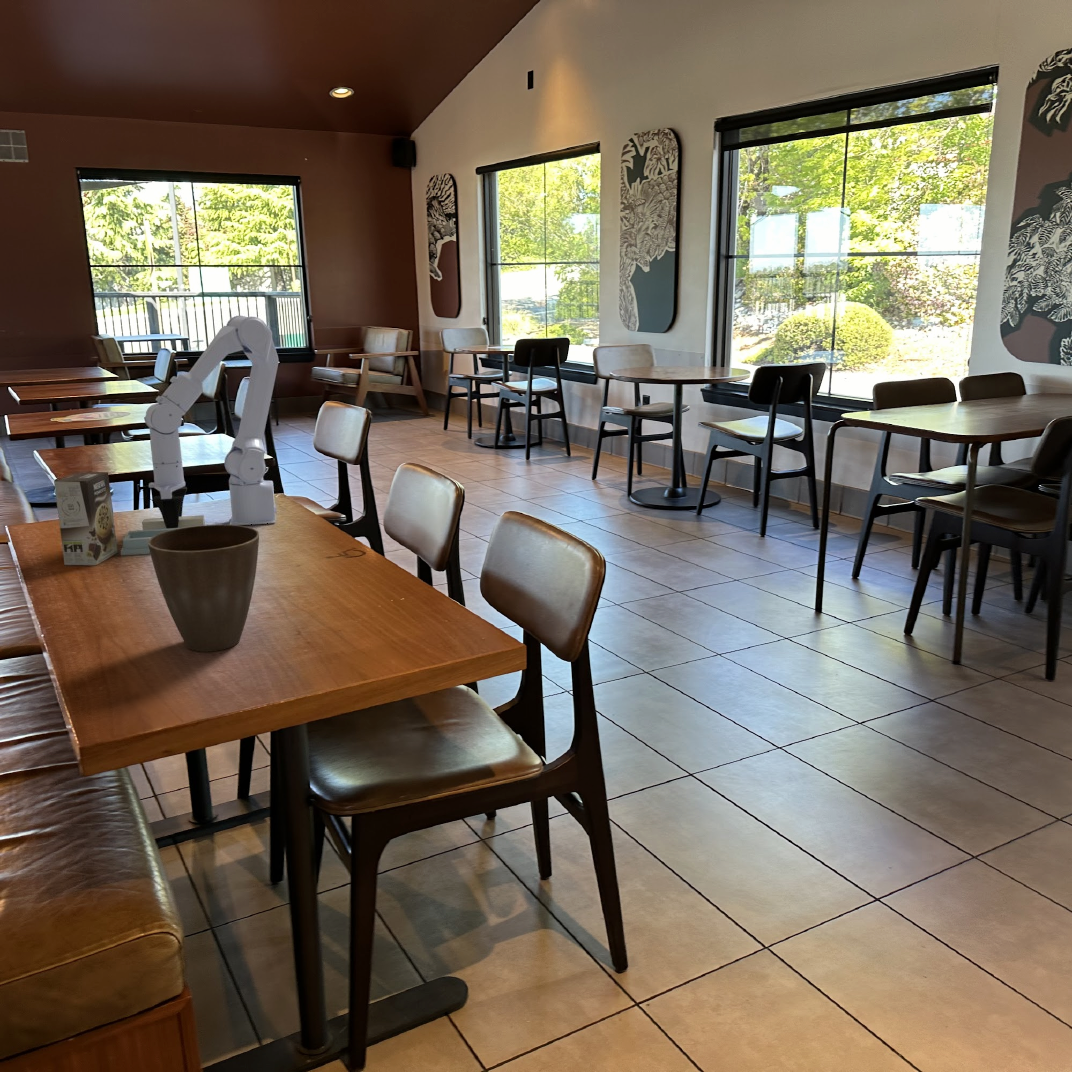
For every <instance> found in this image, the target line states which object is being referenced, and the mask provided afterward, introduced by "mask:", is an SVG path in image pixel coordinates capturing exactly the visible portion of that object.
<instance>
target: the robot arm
mask: <svg viewBox="0 0 1072 1072" xmlns="http://www.w3.org/2000/svg"><path fill="white" fill-rule="evenodd" d="M240 351H242V352H243V353H244V354H245V356H246V357H247V358H248V360H249V361H250V362H251V368H250V369H251V370H250V374H249V379H248V384H247V388H246V394H245V397H244V398H245V399H244V403H243V409H242V414H241V418H240V424H239V429H238V432H237V433H238V434H237V435H236V437H235V439H234V440H233V441H232V446H231V448H230V449H229V451H228V452H227V454H226V455H225V458H224V463H223V464H224V467H225V470H226V471H227V473H228V474H230V477H229V479H228V487H229V497H230V507H231V517H230V522H229V525H239V526H248V525H249V526H250V525H251V524H252V525H262V524H263V525H265V524H266V525H267V523H268V524H275V523H276V519H277V518H276V517H277V516H276V514H278V513H277V511H278V510H277V505H276V503H275V493H274V491H275V489H274V481H273V480H265V479H264V476H265V474H266V469H267V465H266V461H265V452H266V450H265V445H264V442H263V439H264V435H265V430H266V424H267V421H268V415H269V412H270V406H271V401H272V396H273V392H274V391H273V390H274V387H275V381H276V376H277V373H278V372H277V371H278V366H279V356H278V353H277V349H276V346H275V343H274V340H273V330H271V328H269V326H268V325H267V323H266V322H264V320H262V319H261V318H259V317H258V316H245V315H236V316H233V317H231V318H230V319H229V320H228V321H227V322H226V325H223V326H222V327H221V328H220V329H219V330H218V332H217V334H215V336H214V338H213V339H211V342H210V343H209V345H208V346H207V347H206V348H205V350H204V351H203V352H202V354H201V355H200V356H199V358H198V359H197V361H196V362H195V363H194V365H192V367H191V369H190V370H189V371H188V372H184V373H183V372H182V373H179V374H178V375H177V376H175V375H174V376H172V377H171V378H170V380H169V382H171V384H170V385H169V386H168V387H167V388H166V389H165V391H164V392H163V393H162V394H161V395H158V396H156V398H155V401H156V402H157V403H154V404H152V405H150V406H149V407H148V408H147V410H146V412H145V416H144V417H143V419H144V423H145V424H146V426H147V427H148V428H149V437H150V451H151V461H152V468H153V481H154V482H149V483H148V488H151V489H152V488H154V489H155V490H157V491H158V494H159V495H155V496H153V502H154V503H155V505H156V506H157V508H158V510H159V511H160V514H161V518H163V520H164V523H165V526H166V528H167V529H170V528H178V524H179V517H183V507H184V506H183V505H184V501H185V496H186V493H187V490H188V487H187V486H186V481H185V478H184V467H183V458H182V449H181V440H180V435H179V428H180V427H181V426H182V421H183V419H182V418H183V416H185V415H186V413H187V412H188V411H189V410H190V408H191V407H192V406H193V405H194V403H195V402H196V401H197V400H198V399H199V398H200V396H201V394H202V393H203V392H204V388H203V382H204V381H205V380H206V379H207V378H208V377H209V376H210V374H211V373H212V372H213V371H214V370H215V369H216V368H217V367H218V366H219V365H220V363H221V362H222V361H223V360H224V359H225V358H226V357H227V356H228V355H229V354H233V353H236V352H240Z"/></svg>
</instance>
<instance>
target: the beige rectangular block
mask: <svg viewBox="0 0 1072 1072" xmlns="http://www.w3.org/2000/svg"><path fill="white" fill-rule="evenodd" d="M201 525H206V524H205V515H204V514H201V515H187V516H185V515H184V516H183V515H182V517H179V524H178V528H184V527H191V526H201ZM141 526H142V530H153V529H167V528H166V526H165V523H164V520H163V517H156V518H155V517H153V518H151V517H150V518H143V520H142V521H141Z"/></svg>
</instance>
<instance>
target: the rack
mask: <svg viewBox="0 0 1072 1072" xmlns="http://www.w3.org/2000/svg"><path fill="white" fill-rule="evenodd" d="M174 529H179V528H170V529H153V530H143V529H140V530H129V531H128V532H127V534H126V535H125V537H124V538H123V539H122V548H121V550H120V555H121V556H133V555H134V556H135V555H149V554H150V550H149V546H148V540H149V539H150V538H151V537H153V536H155V535H157V534H160V533H163V532H166V531H170V530H174ZM150 555H151V554H150Z"/></svg>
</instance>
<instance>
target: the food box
mask: <svg viewBox="0 0 1072 1072" xmlns="http://www.w3.org/2000/svg"><path fill="white" fill-rule="evenodd" d="M53 483H54V491H55V500H56V506H57V507H56V508H57V515H58V522H59V523H58V524H59V531H60V540H61V545H62V553H63V563H64V566H97V565H99V564H101V563H102V562H104V561H106V560H107V559H109V558H111V557H113V556H114V555H116V554H118V545H117V544H118V543H117V536H116V527H115V519H114V511H113V502H112V495H111V484H110V477H109V472H108V471H97V472H95V471H94V472H93V471H92V472H75V473H73V474H70V475H68V476H65V477H62V478H59V479H57V480H54V481H53Z"/></svg>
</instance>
